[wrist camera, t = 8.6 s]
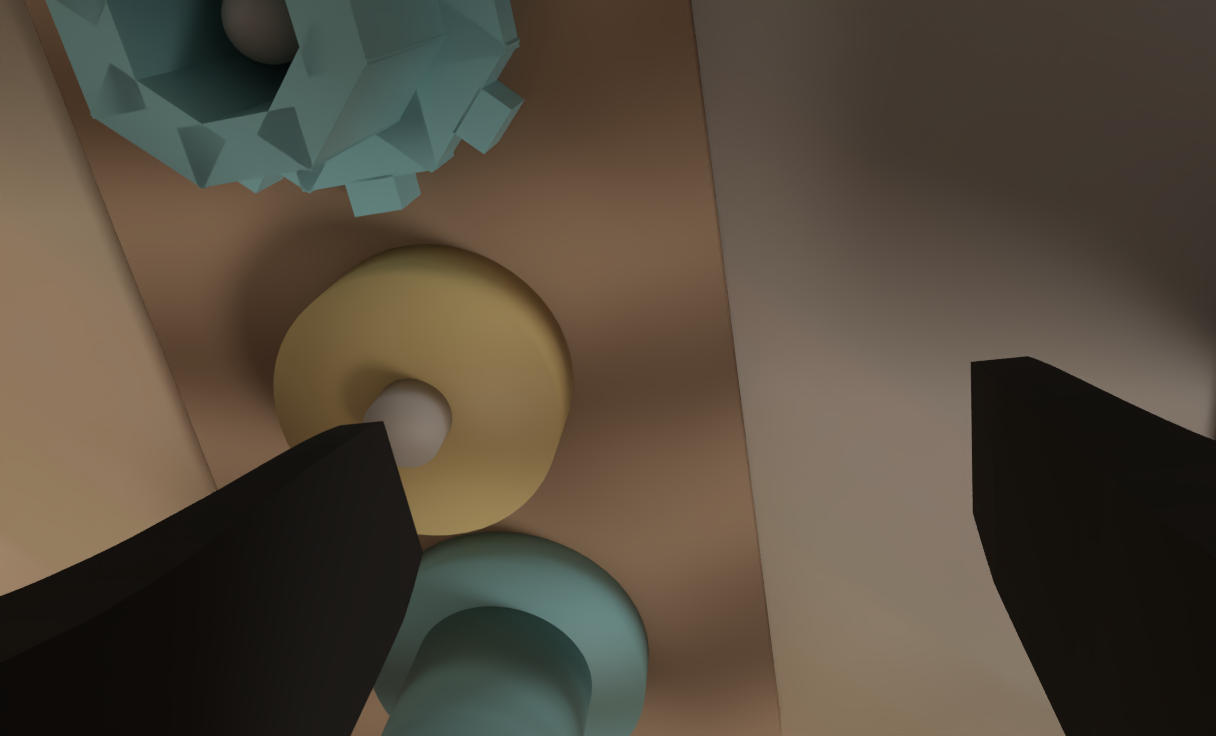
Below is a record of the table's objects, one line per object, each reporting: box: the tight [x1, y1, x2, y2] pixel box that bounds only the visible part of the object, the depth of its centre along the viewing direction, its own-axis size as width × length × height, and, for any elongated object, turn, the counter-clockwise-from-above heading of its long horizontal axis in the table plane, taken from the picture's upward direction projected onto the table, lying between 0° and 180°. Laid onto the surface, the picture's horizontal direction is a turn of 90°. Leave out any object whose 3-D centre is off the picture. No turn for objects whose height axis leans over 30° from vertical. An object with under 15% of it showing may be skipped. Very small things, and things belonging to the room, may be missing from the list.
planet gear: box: [46, 0, 525, 217], centre depth 15 cm, size 8×8×5 cm
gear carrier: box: [24, 0, 781, 736], centre depth 19 cm, size 23×13×7 cm, turn 10°
